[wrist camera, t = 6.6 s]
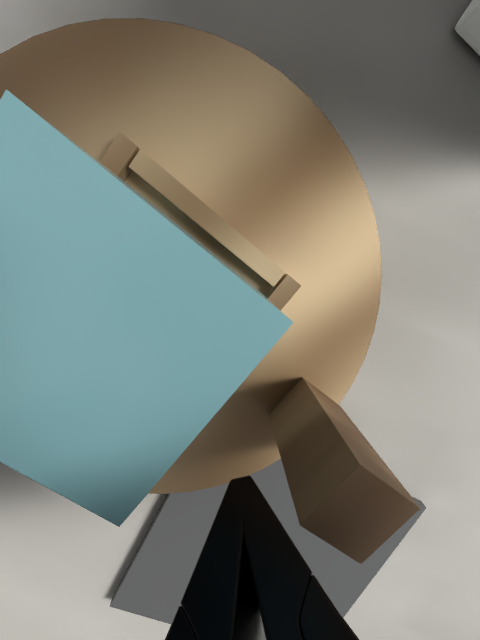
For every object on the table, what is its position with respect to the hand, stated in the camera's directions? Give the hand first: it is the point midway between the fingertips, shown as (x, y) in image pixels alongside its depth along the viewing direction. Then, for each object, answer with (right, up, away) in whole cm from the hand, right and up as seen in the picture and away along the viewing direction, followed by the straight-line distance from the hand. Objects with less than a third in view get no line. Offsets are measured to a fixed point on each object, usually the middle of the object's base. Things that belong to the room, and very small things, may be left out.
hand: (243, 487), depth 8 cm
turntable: (-3, +6, +3) cm, 7 cm away
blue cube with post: (-4, +7, +1) cm, 8 cm away
